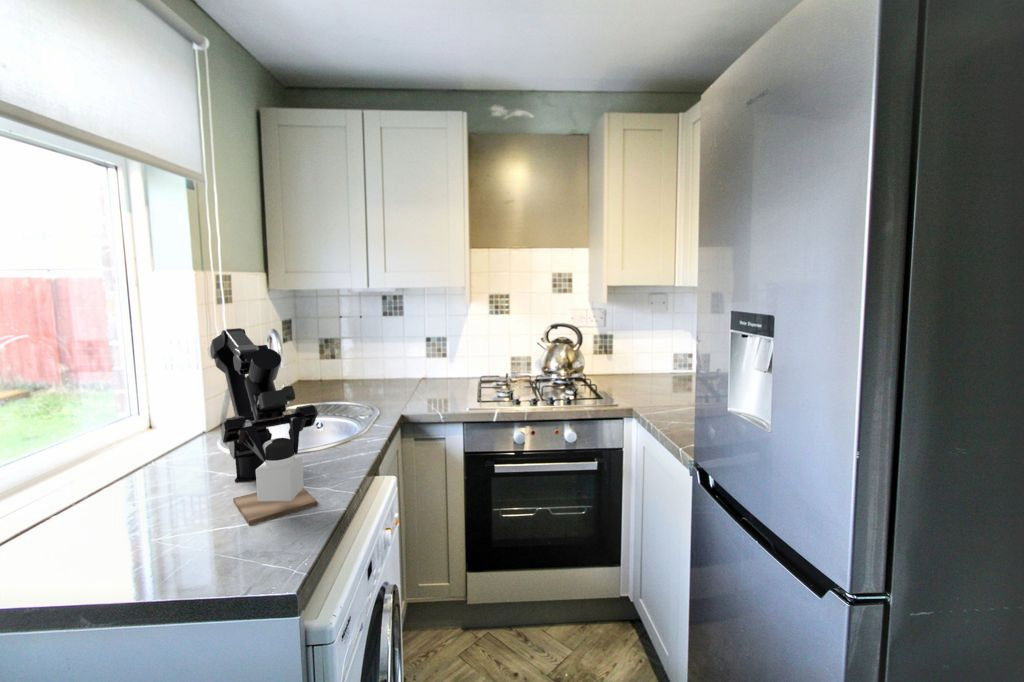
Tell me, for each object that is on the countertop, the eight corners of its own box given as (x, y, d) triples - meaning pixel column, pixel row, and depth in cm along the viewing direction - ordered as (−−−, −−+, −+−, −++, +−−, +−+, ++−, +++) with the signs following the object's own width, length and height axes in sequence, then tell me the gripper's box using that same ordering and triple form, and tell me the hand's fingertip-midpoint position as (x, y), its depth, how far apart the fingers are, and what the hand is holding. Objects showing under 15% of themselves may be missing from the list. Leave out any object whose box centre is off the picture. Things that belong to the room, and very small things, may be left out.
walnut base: (233, 502, 118) (233, 498, 118) (297, 485, 126) (297, 481, 126) (249, 525, 107) (248, 520, 107) (317, 505, 116) (317, 501, 116)
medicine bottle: (304, 487, 115) (301, 435, 114) (292, 501, 108) (288, 446, 107) (271, 487, 115) (268, 435, 113) (257, 502, 108) (253, 446, 106)
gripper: (219, 381, 105) (236, 448, 98) (312, 369, 117) (333, 428, 110) (214, 410, 112) (230, 474, 106) (303, 396, 124) (322, 453, 117)
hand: (280, 457), depth 109 cm, fingers closed on medicine bottle, 6 cm apart
